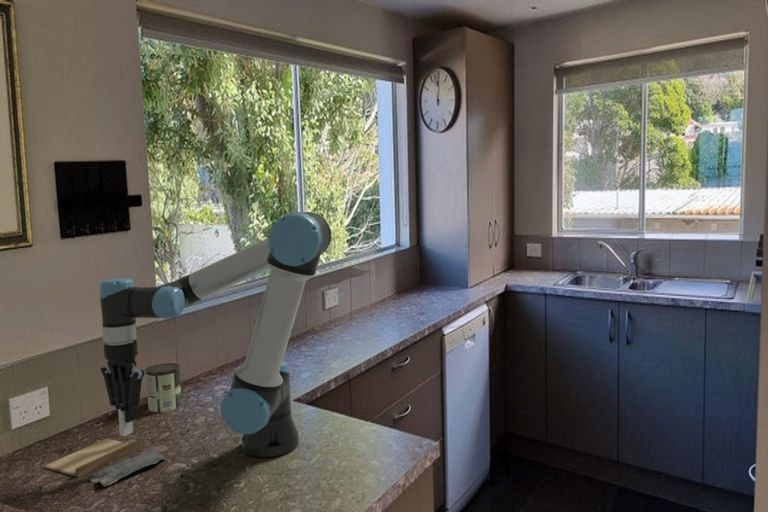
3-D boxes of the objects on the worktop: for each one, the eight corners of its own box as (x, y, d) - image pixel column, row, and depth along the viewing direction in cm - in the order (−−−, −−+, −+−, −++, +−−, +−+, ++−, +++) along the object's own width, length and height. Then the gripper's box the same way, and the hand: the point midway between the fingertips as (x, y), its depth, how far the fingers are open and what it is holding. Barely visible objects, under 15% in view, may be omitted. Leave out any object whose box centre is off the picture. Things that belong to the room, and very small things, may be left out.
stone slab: (150, 445, 153) (172, 452, 147) (151, 452, 153) (173, 459, 147) (82, 474, 138) (104, 483, 132) (83, 482, 138) (105, 491, 133)
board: (139, 448, 155) (139, 440, 155) (78, 477, 139) (78, 469, 139) (106, 440, 161) (106, 433, 161) (44, 467, 145) (44, 460, 145)
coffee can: (168, 402, 191) (166, 361, 190) (189, 408, 185) (186, 365, 184) (141, 412, 182) (138, 369, 181) (161, 418, 177) (158, 373, 175)
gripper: (151, 340, 142) (157, 432, 144) (115, 335, 147) (121, 424, 150) (126, 347, 135) (132, 443, 137) (88, 342, 141) (95, 435, 143)
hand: (126, 433), depth 143 cm, fingers closed
